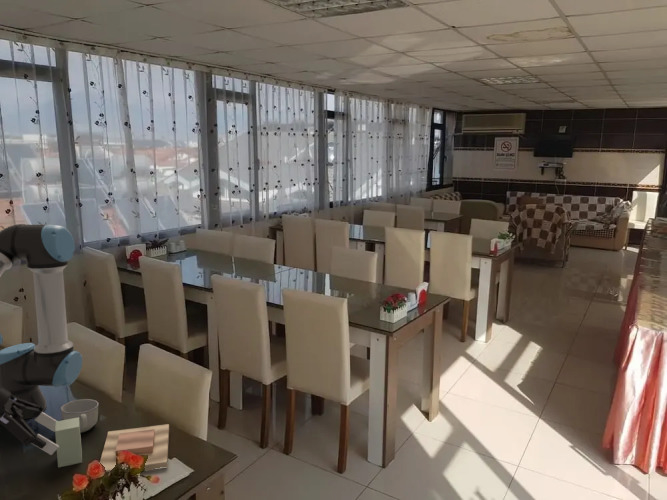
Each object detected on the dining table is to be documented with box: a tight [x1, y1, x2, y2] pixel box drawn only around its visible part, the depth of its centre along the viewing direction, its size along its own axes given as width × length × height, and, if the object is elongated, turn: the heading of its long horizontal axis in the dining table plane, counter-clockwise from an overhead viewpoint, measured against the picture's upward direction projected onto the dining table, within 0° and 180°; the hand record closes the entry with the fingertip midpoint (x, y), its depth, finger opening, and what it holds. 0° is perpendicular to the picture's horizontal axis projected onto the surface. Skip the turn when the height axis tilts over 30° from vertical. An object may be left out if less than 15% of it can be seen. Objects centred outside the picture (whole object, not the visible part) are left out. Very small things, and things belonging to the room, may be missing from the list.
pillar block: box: [54, 417, 83, 468], centre depth 148 cm, size 6×6×11 cm
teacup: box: [60, 398, 99, 434], centre depth 164 cm, size 14×11×8 cm
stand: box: [99, 423, 170, 472], centre depth 152 cm, size 22×18×4 cm
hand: (56, 438), depth 145 cm, fingers open, 13 cm apart
